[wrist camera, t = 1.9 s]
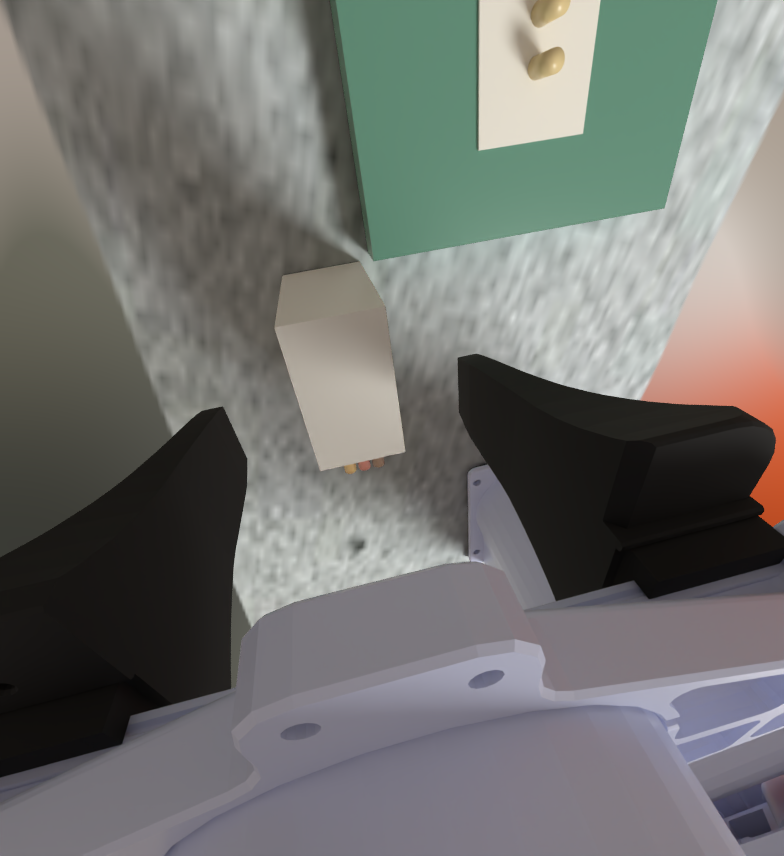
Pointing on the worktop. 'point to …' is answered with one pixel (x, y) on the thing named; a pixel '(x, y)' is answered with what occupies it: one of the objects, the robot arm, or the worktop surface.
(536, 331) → the worktop surface
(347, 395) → the block
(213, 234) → the worktop surface
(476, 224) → the circuit board
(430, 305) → the worktop surface
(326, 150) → the worktop surface
